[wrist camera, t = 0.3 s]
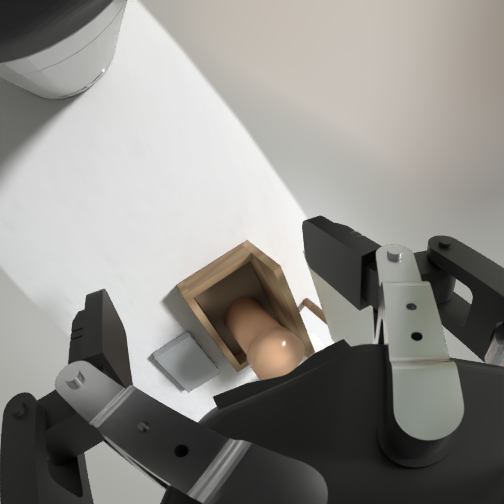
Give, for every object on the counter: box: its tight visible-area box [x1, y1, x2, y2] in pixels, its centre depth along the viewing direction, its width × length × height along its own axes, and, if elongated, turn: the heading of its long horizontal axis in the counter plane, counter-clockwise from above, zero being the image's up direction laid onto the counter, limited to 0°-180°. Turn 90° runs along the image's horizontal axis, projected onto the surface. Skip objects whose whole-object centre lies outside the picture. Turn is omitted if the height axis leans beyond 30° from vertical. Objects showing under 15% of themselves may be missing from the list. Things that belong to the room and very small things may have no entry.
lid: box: [303, 250, 373, 346], centre depth 30 cm, size 14×1×9 cm, turn 24°
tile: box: [153, 331, 220, 393], centre depth 37 cm, size 8×5×1 cm, turn 24°
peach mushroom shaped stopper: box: [224, 297, 305, 380], centre depth 34 cm, size 6×6×9 cm
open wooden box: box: [177, 240, 327, 372], centre depth 33 cm, size 14×13×12 cm
